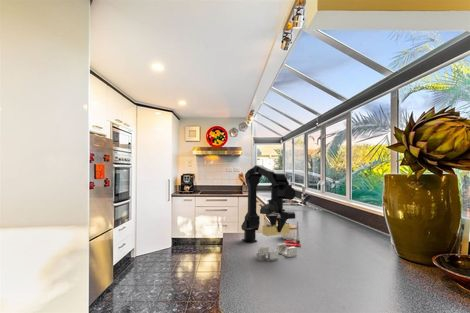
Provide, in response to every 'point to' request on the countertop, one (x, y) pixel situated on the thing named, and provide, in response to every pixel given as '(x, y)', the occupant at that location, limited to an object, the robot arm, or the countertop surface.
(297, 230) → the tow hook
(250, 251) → the countertop surface
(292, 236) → the lidded jar
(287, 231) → the link
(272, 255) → the chain ends
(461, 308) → the countertop surface
